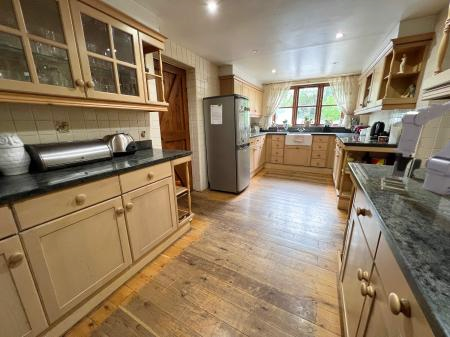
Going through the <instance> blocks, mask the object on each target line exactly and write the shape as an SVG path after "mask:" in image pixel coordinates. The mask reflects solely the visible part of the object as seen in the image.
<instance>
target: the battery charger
mask: <svg viewBox="0 0 450 337" xmlns="http://www.w3.org/2000/svg"><path fill="white" fill-rule="evenodd" d="M422 163H423V160H422V159H421V158H417V157H414V158H413V159H412V160H411V161H410V165H409V169H408V172H407V175H406V177H407V178H411V179H416V176H415V174H414V173H415V170H420V168H421V167H422Z"/></svg>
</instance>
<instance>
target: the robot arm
mask: <svg viewBox="0 0 450 337" xmlns="http://www.w3.org/2000/svg"><path fill="white" fill-rule="evenodd" d="M449 111H450V100H449V101H447V102H443V103H436V102H435V103H433V102H432V103H430V104H429V106H426V107H420V108H418V109H417V110H415V111H409V112H406V113H405V114H404V115H403V117H401V124H402V126H401V128H402V130H401V133H400V134H401V135H400V137H399V140H398V144H397V148H393V151H394V152H396V153H394V154H395V156H396V162H397V171H401V172H403V171H404V170H405V168H406V169H407V167H408V164H409V163H411V161H412V159H413V158H415V157H414V156H413V154H415V152H416V151H415V150H416V148H417V144H418V141H419V139H420V138H419V137H420V136H421V135H420V134H421V132H422V128H423V126H425V125H427V123H428V122H429V121H432V120H436V119H437V118H441V117H442V116H444V115H445V114H446V112H449ZM397 152H398V153H397ZM406 166H407V167H406ZM424 168H425V169H426V170H425V171H426V176H425V179H424V181H423V183H422V187H421V188H422V189H424V190H426V191H430V192H433V193H436V194H438V195H450V141H448V143H447V144H446V146H445V147H444V148H443V149H442V150H441V151H437V152H435V153H433V154H432V156H431V157H429V158H427V159H426V160H425V162H424Z"/></svg>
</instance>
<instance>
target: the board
mask: <svg viewBox="0 0 450 337" xmlns="http://www.w3.org/2000/svg"><path fill="white" fill-rule="evenodd" d="M380 180H381V183H380V184H381V186H380V187H381V190H384V191H389V192H394V193H399V194H404V195H409V196H410V191H409V189H408V186H407V183H406V181H405V179H400V178H395V177H388V176H383V177H382V178H381V179H380Z"/></svg>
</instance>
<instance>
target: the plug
mask: <svg viewBox="0 0 450 337" xmlns="http://www.w3.org/2000/svg"><path fill="white" fill-rule="evenodd" d="M407 167H408V165H407V166H406V168H405V170H404V171H403V172H401V171H397V161H394V164H393V167H392V170H391V176H392V177H397V178H404V177H405V173H406V171H407Z"/></svg>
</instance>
